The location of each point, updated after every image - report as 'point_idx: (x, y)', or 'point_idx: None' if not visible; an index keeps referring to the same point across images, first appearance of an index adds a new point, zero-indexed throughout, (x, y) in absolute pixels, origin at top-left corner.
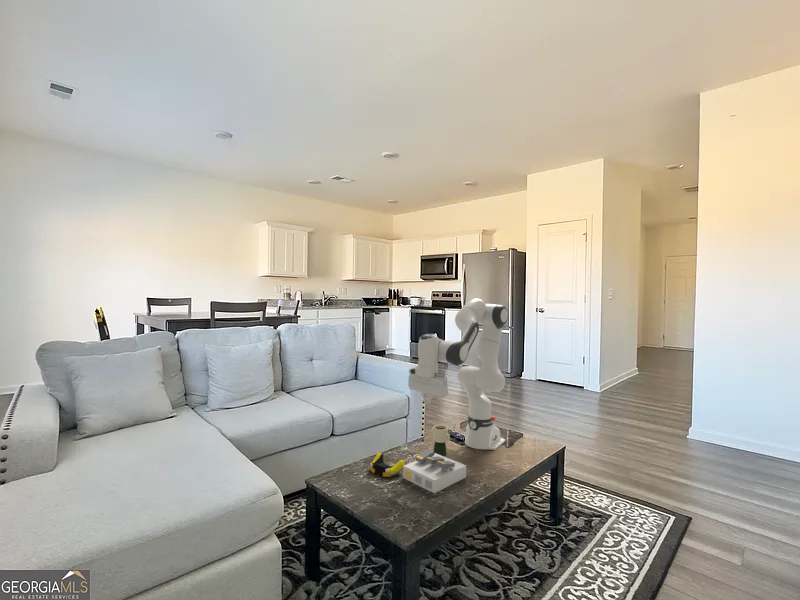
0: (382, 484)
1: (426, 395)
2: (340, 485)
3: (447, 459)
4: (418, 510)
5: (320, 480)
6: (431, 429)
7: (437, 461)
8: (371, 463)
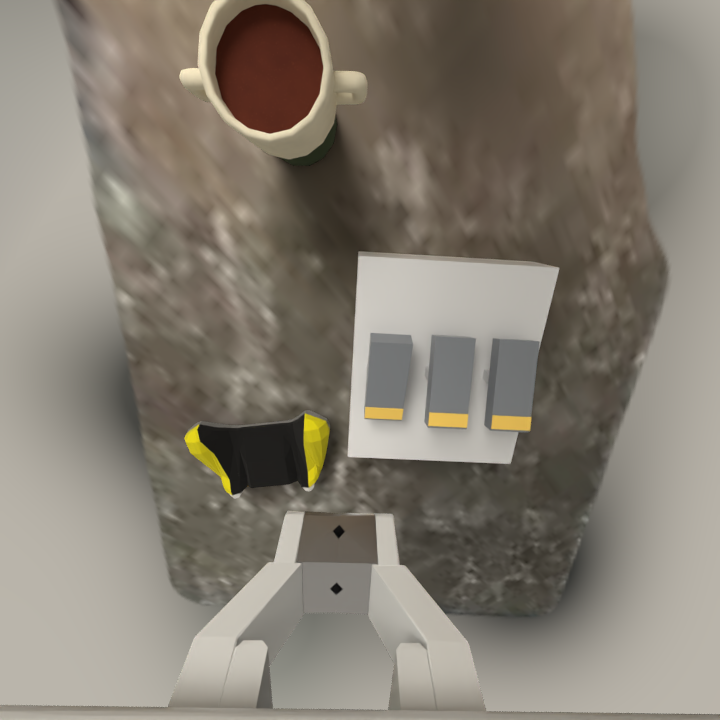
0: (333, 498)
1: (263, 609)
2: (255, 569)
3: (452, 277)
4: (504, 524)
5: (194, 585)
6: (187, 87)
7: (496, 429)
8: (234, 494)
